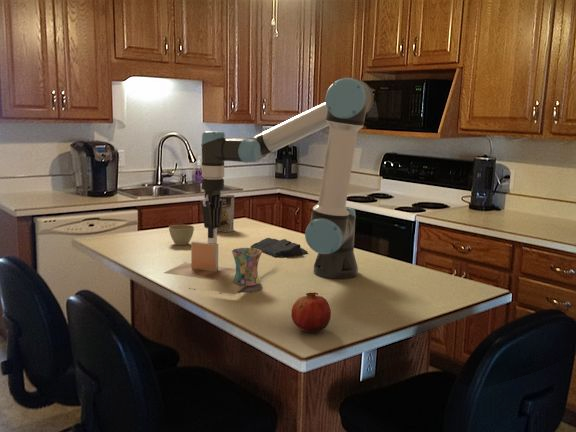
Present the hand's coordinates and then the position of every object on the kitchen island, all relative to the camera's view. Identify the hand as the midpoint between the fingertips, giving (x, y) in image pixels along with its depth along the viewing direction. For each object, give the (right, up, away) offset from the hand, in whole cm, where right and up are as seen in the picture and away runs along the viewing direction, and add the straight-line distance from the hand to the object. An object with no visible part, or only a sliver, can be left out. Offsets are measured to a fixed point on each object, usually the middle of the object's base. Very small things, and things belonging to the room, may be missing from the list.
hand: (212, 246), depth 202 cm
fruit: (+32, -19, -52) cm, 64 cm away
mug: (+13, -11, -18) cm, 25 cm away
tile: (-2, -7, -4) cm, 9 cm away
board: (-3, -9, -6) cm, 11 cm away
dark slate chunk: (+22, -4, +31) cm, 39 cm away
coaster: (+12, -12, -18) cm, 24 cm away
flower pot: (-17, -1, +37) cm, 41 cm away
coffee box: (-4, +4, +66) cm, 66 cm away
